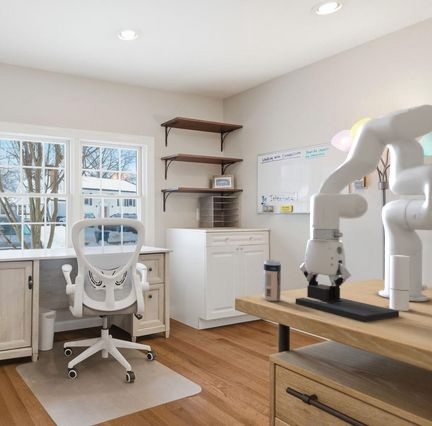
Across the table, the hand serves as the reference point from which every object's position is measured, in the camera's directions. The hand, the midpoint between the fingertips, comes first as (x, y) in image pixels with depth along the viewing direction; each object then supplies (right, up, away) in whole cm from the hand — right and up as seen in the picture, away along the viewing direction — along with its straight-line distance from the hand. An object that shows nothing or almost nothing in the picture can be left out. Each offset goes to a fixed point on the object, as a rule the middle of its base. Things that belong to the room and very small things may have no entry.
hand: (323, 296), depth 110 cm
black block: (0, -1, 0) cm, 1 cm away
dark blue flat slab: (+3, -2, -6) cm, 7 cm away
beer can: (-13, -2, +5) cm, 14 cm away
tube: (+19, -3, -4) cm, 20 cm away
